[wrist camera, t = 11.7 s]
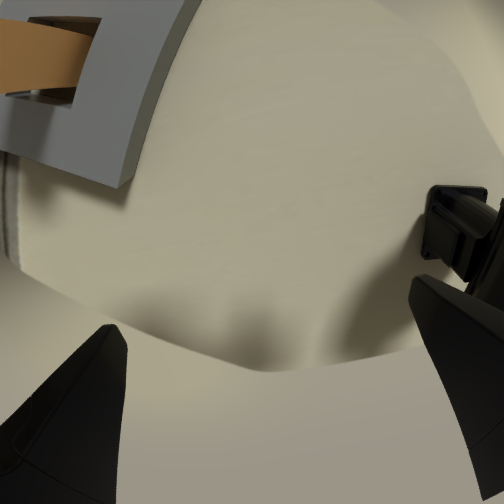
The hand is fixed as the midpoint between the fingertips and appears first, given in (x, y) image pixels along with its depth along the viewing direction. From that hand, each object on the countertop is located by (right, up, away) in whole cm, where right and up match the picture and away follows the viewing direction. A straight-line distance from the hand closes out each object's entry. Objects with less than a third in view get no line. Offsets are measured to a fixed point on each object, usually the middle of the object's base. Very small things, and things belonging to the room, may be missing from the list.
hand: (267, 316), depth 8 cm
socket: (-13, +15, +6) cm, 21 cm away
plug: (-13, +15, +6) cm, 21 cm away
